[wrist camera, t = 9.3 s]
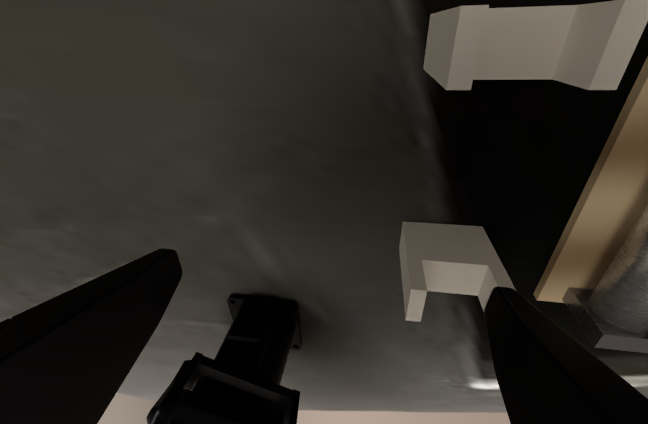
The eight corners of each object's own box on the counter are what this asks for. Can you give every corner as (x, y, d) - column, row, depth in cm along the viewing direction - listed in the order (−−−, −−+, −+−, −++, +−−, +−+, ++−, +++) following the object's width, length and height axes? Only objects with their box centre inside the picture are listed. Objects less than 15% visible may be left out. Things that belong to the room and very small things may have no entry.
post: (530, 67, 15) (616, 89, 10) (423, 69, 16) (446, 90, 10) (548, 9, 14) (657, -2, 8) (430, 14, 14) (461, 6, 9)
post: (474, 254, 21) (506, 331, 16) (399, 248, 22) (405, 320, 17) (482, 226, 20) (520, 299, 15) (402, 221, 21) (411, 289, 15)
